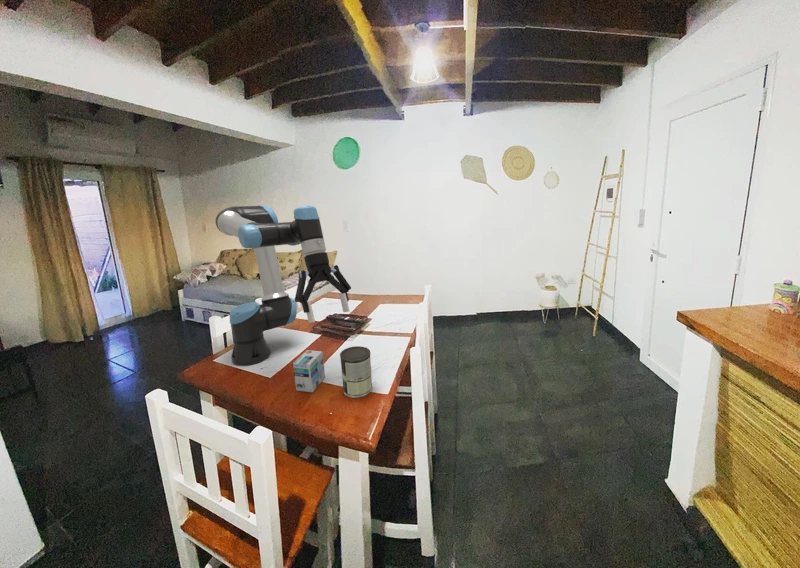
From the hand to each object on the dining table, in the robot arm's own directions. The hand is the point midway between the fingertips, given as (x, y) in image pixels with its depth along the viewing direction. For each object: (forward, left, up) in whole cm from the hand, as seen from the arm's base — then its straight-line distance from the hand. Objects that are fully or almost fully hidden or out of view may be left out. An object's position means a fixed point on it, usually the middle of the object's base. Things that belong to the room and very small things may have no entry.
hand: (330, 316), depth 103 cm
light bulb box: (-4, -10, -28) cm, 30 cm away
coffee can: (-1, +8, -28) cm, 29 cm away
